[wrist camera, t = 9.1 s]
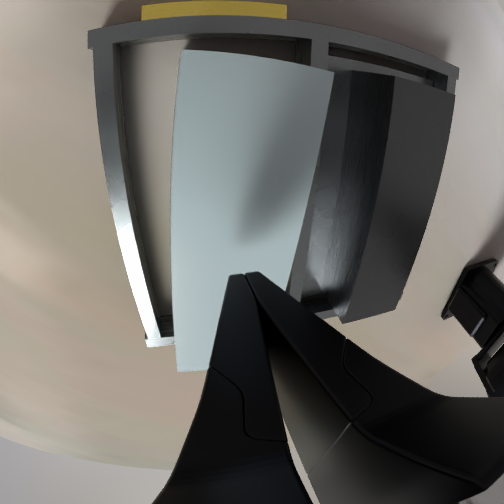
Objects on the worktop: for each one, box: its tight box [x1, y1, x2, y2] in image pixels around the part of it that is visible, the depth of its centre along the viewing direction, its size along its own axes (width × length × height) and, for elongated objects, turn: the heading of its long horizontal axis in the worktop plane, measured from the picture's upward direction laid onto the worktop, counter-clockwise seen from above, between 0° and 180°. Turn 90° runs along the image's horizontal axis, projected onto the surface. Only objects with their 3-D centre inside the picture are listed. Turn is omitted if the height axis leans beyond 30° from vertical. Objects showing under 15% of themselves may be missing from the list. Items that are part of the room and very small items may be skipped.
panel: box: [170, 50, 334, 372], centre depth 11 cm, size 4×12×5 cm, turn 170°
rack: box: [88, 0, 459, 347], centre depth 12 cm, size 16×16×4 cm
